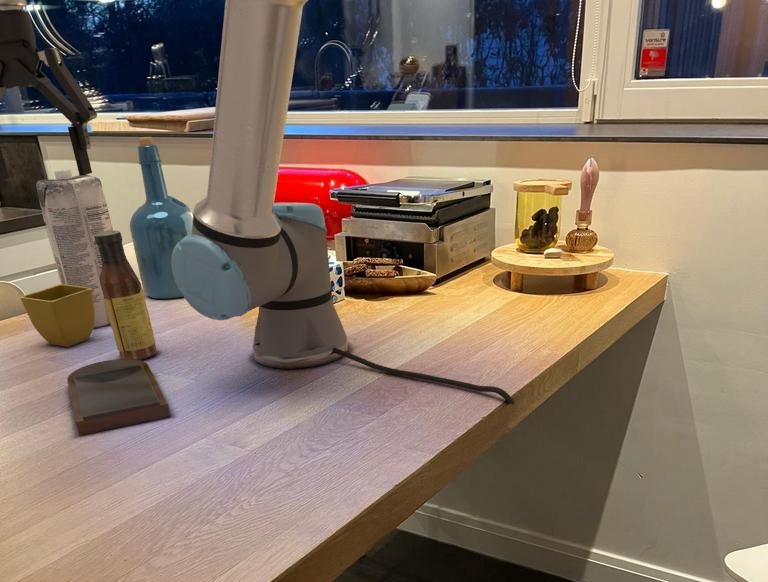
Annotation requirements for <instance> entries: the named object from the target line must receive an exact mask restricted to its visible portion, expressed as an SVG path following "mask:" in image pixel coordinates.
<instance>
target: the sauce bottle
mask: <svg viewBox="0 0 768 582" xmlns="http://www.w3.org/2000/svg"><path fill="white" fill-rule="evenodd" d="M94 238H95V242H96V244H97V245H98V248H99V252H100V256H101V261H102V272H101V275H100V284H101V288H102V291H103V295H104V301H105V305H106V308H107V312H108V316H109V319H110V323H111V324H110V327H111V330H112V334H113V337H114V340H115V344H116V347H117V350H118V351H119V356H120V359H135V360H141V361H143V360H145V359H148V358H151V357H153V356H154V355H156V354H157V345H156V337H155V334H154V330H153V326H152V323H151V318H150V314H149V310H148V307H147V303H146V299H145V295H144V294H145V293H144V291H143V286H142V282H141V280H140V279H139V277H138V276H137V274H136V272H135V270H134V269H133V267H132V266H131V264H130V261H129V260H128V258H127V256H126V252H125V249H124V245H123V236H122V233H121V231H120V230H113V231H106V232H100V233H97V234H95V235H94Z"/></svg>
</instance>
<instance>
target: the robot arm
mask: <svg viewBox="0 0 768 582" xmlns="http://www.w3.org/2000/svg"><path fill="white" fill-rule="evenodd" d="M308 1H309V0H225V1H224V3H225V4H224V14H223V24H222V34H221V46H220V55H219V67H218V75H217V76H218V78H217V89H216V96H215V97H216V99H215V109H214V121H213V131H212V138H211V139H212V141H211V151H210V152H211V153H210V161H209V162H210V163H209V164H210V165H209V172H208V181H207V182H208V183H207V193H206V197H204V198H202V199H201V200H199V202H197V203H196V204H195V205H194V207H193V212H192V213H193V214H192V215H193V223H192V233H191V235H187V236H185V237H184V238H183V239H182V240H181V241H180V242H179V243H177V244H176V246H175V248H174V250H173V253H172V261H171V263H172V272H173V276H174V279H175V282H176V284H177V286H178V289H179V290H180V291H181V292H182V294H183V295H184V297H183V299H184V300H185V301H186V303H188V305H189V306H190V307H191V308H192V309H194V310H195V311H196V312H197V313H199V314H200V315H202V316H204V317H206V318H207V319H211V320H214V321H225V320H230V319H233V318H237V317H242V316H243V315H246V314H247V313H248V312H250V311H252V310H254V309H257V308H258V312H257V313H258V314H257V320H256V324H255V329H254V337H253V344H252V351H253V357H254V360H255V362H257V363H259V364H260V365H263V366H266V367H270V368H275V369H303V368H304V369H305V368H311V367H316V366H320V365H325V364H328V363H332V362H334V361H336V360H338V359H340V358H342V357H344V358H347V359H349V360H352V361H355V362H357V363H359V364H362V365H364V366H365V367H368V368H371V369H374V370H376V371H380V372H384V373H387V374H391V375H396V376H400V377H408V378H413V379H418V380H423V381H427V382H432V383H433V382H434V383H438V384H443V385H448V386H453V387H458V388H461V389H467V390H470V391H474V392H481V393H495V394H497V395H499V396H500V397H502V398H503V399H504V400H505V402H506V403H507V404H509V405H515V404H516V402H515V401H514V398H513V397H511V395H510V394H509V393H508V392H507V391H505V390H504V389H502V388H500V387H498V386H491V385H478V384H473V383H471V382H470V383H469V382H466V381H460V380H456V379H450V378H447V377H446V378H445V377H440V376H436V375H430V374H426V373H420V372H414V371H409V370H402V369H398V368H393V367H388V366H385V365H381V364H378V363H375V362H372V361H371V360H368V359H365V358H363V357H360V356H359V355H356V354H353V353H350V352H348V350H349V342H348V336H347V333H346V331H345V329H344V326H343V324H342V321H341V319H340V317H339V314H338V312H337V309H336V307H335V305H334V302H333V293H332V282H331V273H330V272H331V271H330V260H329V250H328V248H329V247H328V239H327V234H328V229H327V227H326V223H325V221H326V220H325V215H324V212H323V209H322V208H321V207H320V206H319V205H317V204H316V203H309V202H275V197H276V191H277V183H278V176H279V170H280V165H281V164H280V163H281V157H282V150H283V144H284V142H283V141H284V137H285V131H286V123H287V117H288V110H289V103H290V97H291V91H292V83H293V78H294V77H293V76H294V71H295V64H296V63H295V62H296V58H297V57H296V56H297V50H298V43H299V42H298V41H299V37H300V30H301V23H302V17H303V9H304V6H305V5H306V3H307V2H308ZM27 4H28V3H27V0H0V103H1V102H2V99H3V97H4V94H5V93H6V92H7V90H8V89H17V88H30V87H32V88H34V89H35V90H37V91H38V92H39V93H41V94H42V95H43V97H45V99H46V100H48V101H49V102H50V104H52V105H53V107H55V108H56V109H57V110H58V112H60V113H61V114H62V116H64V117H65V118H66V119H67V120H68V121H69V122H70V126H68V127H67V130H68V135H69V138H70V143H71V145H72V146H71V147H72V151H73V154H74V158H75V163H76V166H77V171H78V176H79V175H80V176H81V175H90V174H92V173H93V170H92V166H91V162H90V158H89V153H88V150H91V147H92V143H91V138H90V134H89V130H88V123H89V122H91V121H93V120H95V119H97V117H98V112H97V111H96V109H95V108H94V106H93V105H92V103H91V102H90V101H89V99H88V97H87V96H86V94H85V93H84V91H83V90H82V88H81V87H80V85H79V84H78V82H77V81H76V80H75V78H74V77H73V75H72V73H71V72H70V70H69V68H68V67H67V66H66V64H65V61H64V59H63V55H62V52H61V50H60V49H59V48H57V47H45V49H44V50H41V51H40V49H39V48H38V47H37V42H36V35H35V31H34V25H33V23H32V18H31V15H30V14H29V13H28V11H25V10H24V9H25V8H26V6H27ZM43 62H44V64H45V65H46V67H48V68H49V69H50V71H51V73H52V74H53V76H54V77H55V79H56V81H57V82H58V83H59V85H60V86H61V88H62V90H63V91H64V92H65V94H66V95H67V97H68V98H69V99H70V100H69V99H68V98H67V97H66V96H65V95H64V94H63V93H62V92H61V91H60V90H59V89H58V88H57V87H56V86H55V85H54V84H53V83H52V82H51V81H52V80H51V79H49V77H48V76H47V75H45V73H44V72H43V71H41V69H42V66H43ZM3 154H4V153H3V151H2V148H1V146H0V182H1V181H3V180H4V181H5V180H8V179H10V175H9V172H8V171H9V170H8V169H7V165H6V161H5V157H4V155H3Z"/></svg>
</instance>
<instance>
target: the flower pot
mask: <svg viewBox="0 0 768 582" xmlns="http://www.w3.org/2000/svg"><path fill="white" fill-rule="evenodd" d="M20 300H21V302H22V303H21V304H22V305H23V307H24V310H25V311H26V314H27V315H28V318H29V320H30V322H31V324H32V326H33V327H34V328H35V329H34V330H36V331H37V333H38V334H39V335H40V336H41V337H42V338H43V339H44V340H45V341H46V342H48V343H49V344H50V345H55V346H60V347H65V348H69V347H71V346H73V345H76V344H79V343H82V342H84V341H87V340H89V339H90V338H91V336H92V333H93V330H94V328H93V327H94V321H95V312H94V304H93V296H92V288H88V287H80V286H72V285H65V284H61V283H60V284H57V285H53V286H50V287H47V288H43V289H41V290H38V291H35V292H31V293H28V294H25V295H22V296H20Z"/></svg>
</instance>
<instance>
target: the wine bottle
mask: <svg viewBox="0 0 768 582" xmlns="http://www.w3.org/2000/svg"><path fill="white" fill-rule="evenodd" d="M138 143H139V145H138V146H137V155H138V165H140V170H141V175H142V182H143V187H144V193H145V202H144V203H143V204H142V205H141V206H139V207H138V208H137V209H136V210H135V211H134V212H133V214H132V215H131V217H130V221H129V231H130V235H131V241H132V244H133V249H134V254H135V258H136V262H137V268H138V273H139V276H140V283H141V286H142V290H143V294H145V295H146V296H147V297H149V298H153V299H158V300H159V299H161V300H162V299H163V300H169V299H170V300H171V299H179V298H184V295H183V294H182V292H181V291H180V290H179V289H178V286H177V284H176V282H175V279H174V276H173V272H172V263H171V261H172V253H173V250H174V248H175V246H176V244H177V243H179V242H180V241H181V240H182V239H183V238H184V237H185V236H187V235H191V233H192V223H193V214H192V213H193V212H192V209H191V207H190V206H189V205H188V204H187V203H185V202H183V201H181V200H179V199H177V198H175V197H173V196H171V195H169V193H168V188H167V184H166V180H165V176H164V171H163V167H162V159H161V154H160V152H159V149H158V145H157V144H155V142H154V138H153V137H152V136H143V137H140V138H139V139H138Z"/></svg>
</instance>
